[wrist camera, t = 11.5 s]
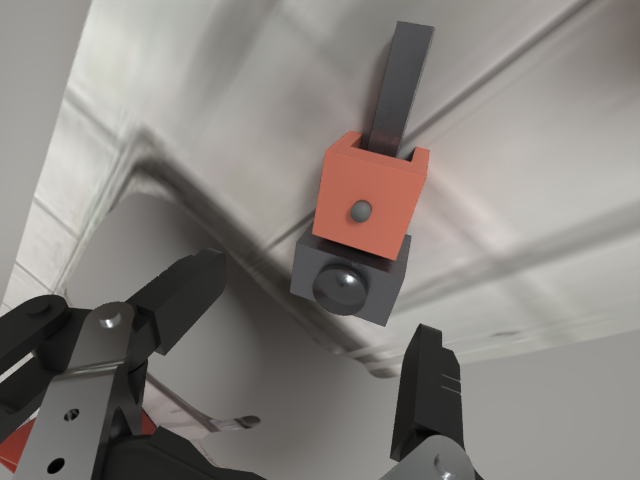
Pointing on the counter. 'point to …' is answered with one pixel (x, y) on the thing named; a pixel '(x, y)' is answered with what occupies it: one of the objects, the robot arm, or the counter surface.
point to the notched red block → (368, 196)
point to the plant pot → (16, 442)
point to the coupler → (348, 262)
